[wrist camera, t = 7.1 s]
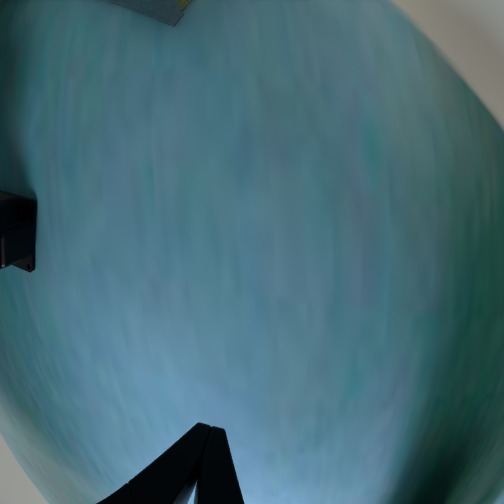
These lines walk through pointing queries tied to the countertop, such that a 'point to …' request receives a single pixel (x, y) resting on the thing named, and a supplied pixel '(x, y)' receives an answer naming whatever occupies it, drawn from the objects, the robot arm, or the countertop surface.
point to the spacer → (182, 3)
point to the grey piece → (154, 9)
